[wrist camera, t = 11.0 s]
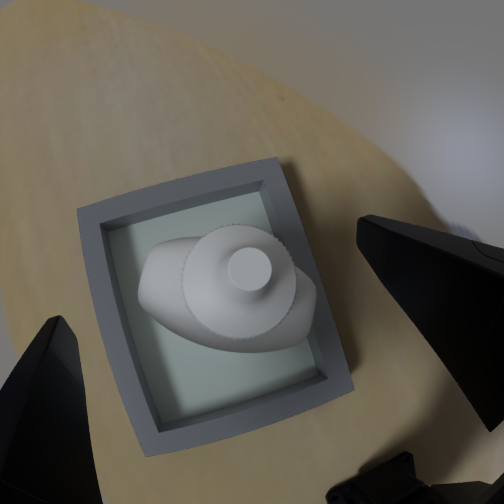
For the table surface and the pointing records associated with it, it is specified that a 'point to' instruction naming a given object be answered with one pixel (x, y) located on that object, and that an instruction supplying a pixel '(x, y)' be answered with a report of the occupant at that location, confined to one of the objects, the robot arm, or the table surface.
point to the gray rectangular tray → (189, 353)
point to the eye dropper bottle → (229, 290)
